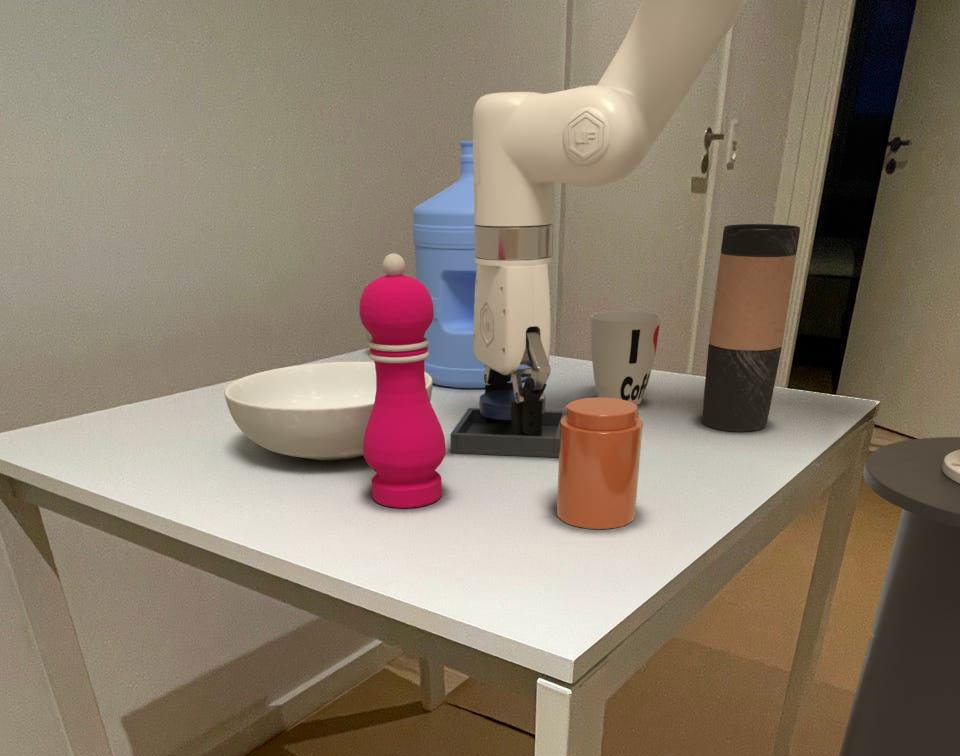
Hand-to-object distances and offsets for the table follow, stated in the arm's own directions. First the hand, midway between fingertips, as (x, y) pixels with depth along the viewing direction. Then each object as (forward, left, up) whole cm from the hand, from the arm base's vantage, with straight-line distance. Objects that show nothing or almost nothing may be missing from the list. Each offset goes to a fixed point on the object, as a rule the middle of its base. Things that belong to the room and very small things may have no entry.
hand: (512, 428), depth 89 cm
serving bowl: (+18, +5, -2) cm, 19 cm away
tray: (0, 0, -1) cm, 1 cm away
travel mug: (-24, -10, -2) cm, 26 cm away
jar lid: (0, 0, +3) cm, 3 cm away
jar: (-10, +20, -1) cm, 22 cm away
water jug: (+9, -29, -2) cm, 30 cm away
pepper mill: (+7, +18, -2) cm, 19 cm away
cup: (-11, -18, -2) cm, 21 cm away
